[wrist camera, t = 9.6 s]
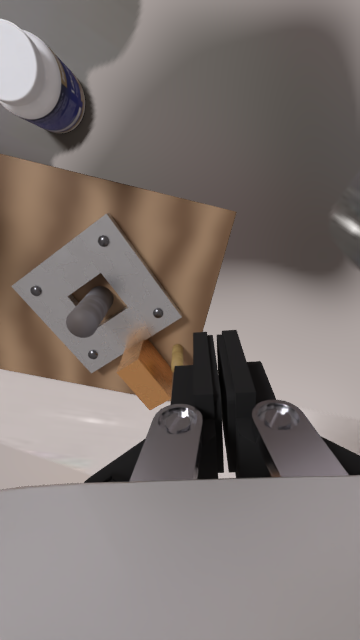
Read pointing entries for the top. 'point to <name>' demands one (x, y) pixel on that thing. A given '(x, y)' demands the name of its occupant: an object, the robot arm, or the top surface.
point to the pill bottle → (37, 82)
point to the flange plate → (123, 327)
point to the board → (98, 295)
